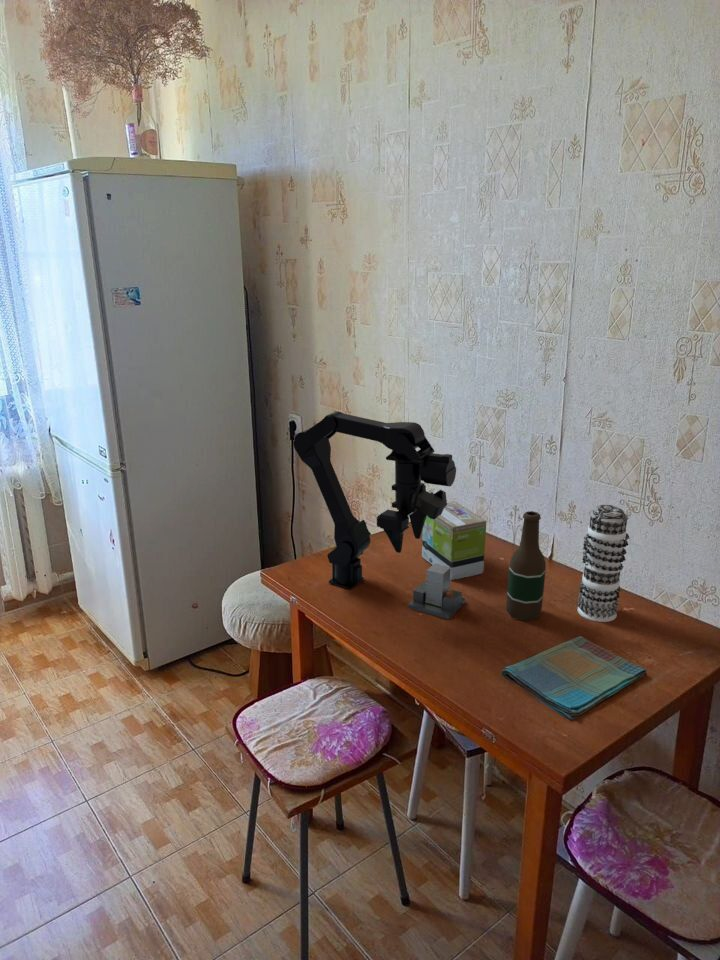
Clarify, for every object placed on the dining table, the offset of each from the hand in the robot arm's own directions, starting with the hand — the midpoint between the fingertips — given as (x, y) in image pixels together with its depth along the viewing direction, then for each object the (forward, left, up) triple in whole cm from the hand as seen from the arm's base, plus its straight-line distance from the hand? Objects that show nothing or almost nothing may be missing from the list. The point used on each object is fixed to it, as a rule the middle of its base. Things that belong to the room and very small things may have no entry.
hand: (408, 545), depth 164 cm
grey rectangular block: (+8, 0, -13) cm, 15 cm away
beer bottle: (+26, +7, -13) cm, 30 cm away
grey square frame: (+8, 0, -13) cm, 15 cm away
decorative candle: (+40, +16, -13) cm, 45 cm away
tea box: (+2, +21, -13) cm, 25 cm away
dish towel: (+42, -11, -14) cm, 46 cm away
